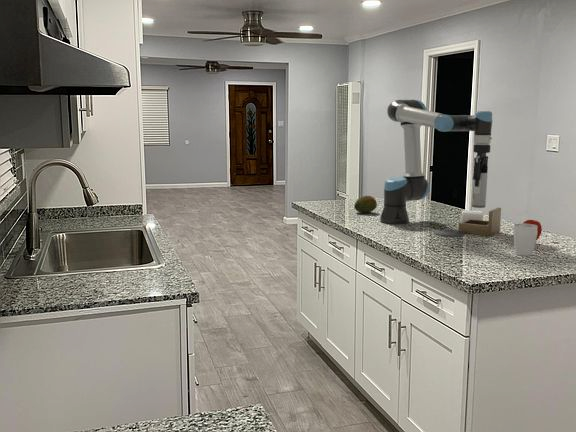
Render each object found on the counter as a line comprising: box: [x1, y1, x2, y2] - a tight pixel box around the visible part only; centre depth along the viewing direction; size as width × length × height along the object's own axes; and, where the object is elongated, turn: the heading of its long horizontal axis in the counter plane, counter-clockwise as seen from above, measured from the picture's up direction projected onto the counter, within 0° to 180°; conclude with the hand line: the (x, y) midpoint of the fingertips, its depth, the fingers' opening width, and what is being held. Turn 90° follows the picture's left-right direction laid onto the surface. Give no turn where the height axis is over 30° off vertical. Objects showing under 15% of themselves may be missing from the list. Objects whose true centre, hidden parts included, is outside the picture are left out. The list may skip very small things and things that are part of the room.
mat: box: [433, 229, 466, 238], centre depth 278 cm, size 14×14×1 cm
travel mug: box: [471, 166, 489, 209], centre depth 277 cm, size 6×7×20 cm
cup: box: [513, 223, 537, 257], centre depth 235 cm, size 9×9×12 cm
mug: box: [460, 210, 484, 222], centre depth 299 cm, size 12×10×8 cm
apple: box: [522, 219, 543, 241], centre depth 255 cm, size 9×8×11 cm
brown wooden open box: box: [458, 207, 502, 238], centre depth 279 cm, size 16×14×12 cm
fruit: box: [353, 195, 378, 214], centre depth 339 cm, size 12×13×10 cm
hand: (479, 192), depth 277 cm, fingers closed on travel mug, 6 cm apart
